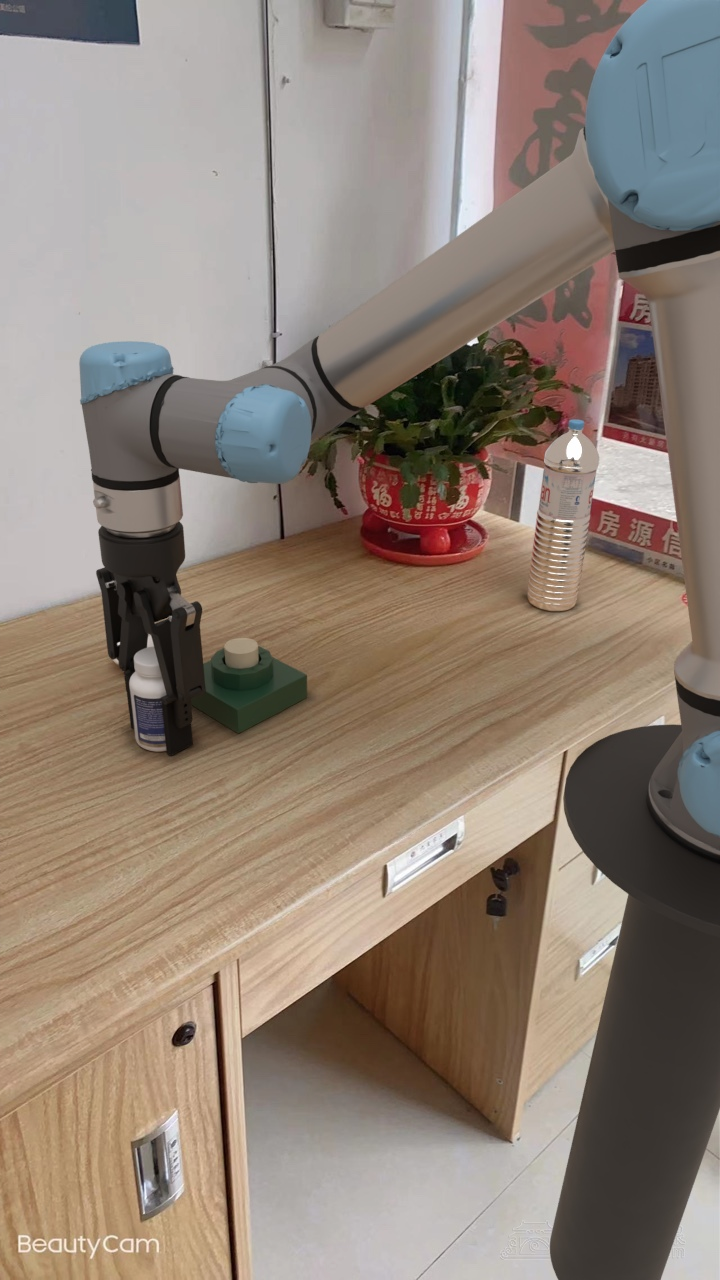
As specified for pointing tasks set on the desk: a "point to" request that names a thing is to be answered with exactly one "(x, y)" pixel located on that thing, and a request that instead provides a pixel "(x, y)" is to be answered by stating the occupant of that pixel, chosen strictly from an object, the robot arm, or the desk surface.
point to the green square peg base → (249, 690)
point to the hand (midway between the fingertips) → (161, 735)
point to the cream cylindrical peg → (241, 653)
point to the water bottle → (562, 520)
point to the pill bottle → (148, 701)
